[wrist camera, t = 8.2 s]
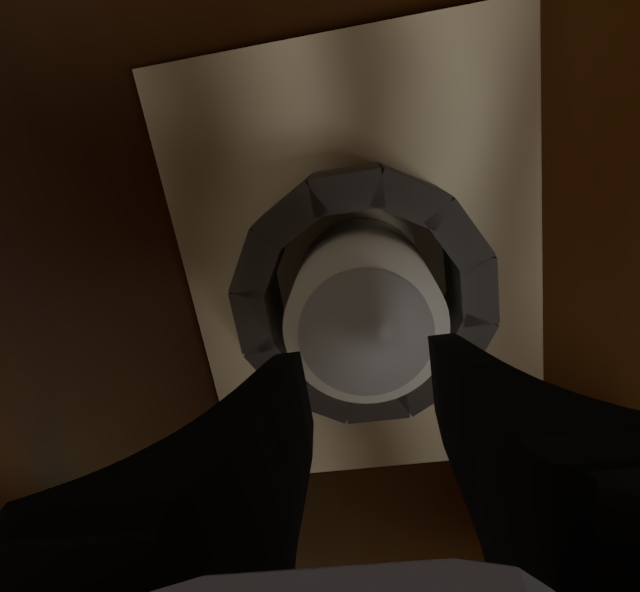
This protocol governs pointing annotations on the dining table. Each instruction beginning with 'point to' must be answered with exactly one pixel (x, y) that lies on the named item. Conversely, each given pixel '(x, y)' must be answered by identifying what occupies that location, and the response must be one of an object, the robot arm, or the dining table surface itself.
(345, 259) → the white round cylinder
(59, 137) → the dining table surface
